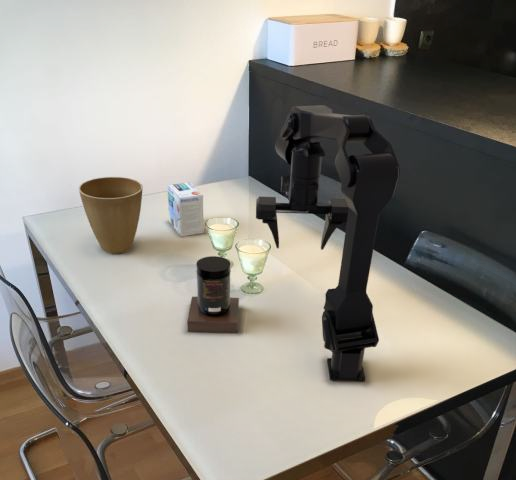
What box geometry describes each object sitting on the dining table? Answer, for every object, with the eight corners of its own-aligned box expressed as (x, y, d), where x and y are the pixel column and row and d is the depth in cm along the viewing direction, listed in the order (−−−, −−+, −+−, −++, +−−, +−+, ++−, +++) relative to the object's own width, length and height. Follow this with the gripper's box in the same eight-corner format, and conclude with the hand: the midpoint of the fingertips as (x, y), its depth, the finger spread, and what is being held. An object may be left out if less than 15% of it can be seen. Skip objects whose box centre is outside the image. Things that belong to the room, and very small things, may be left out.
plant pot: (89, 263, 144) (80, 200, 135) (86, 238, 155) (77, 178, 146) (151, 257, 147) (146, 195, 138) (143, 233, 159) (138, 174, 150)
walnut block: (237, 333, 120) (237, 322, 119) (187, 331, 120) (187, 321, 119) (238, 307, 129) (238, 297, 127) (192, 306, 129) (191, 296, 127)
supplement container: (227, 299, 126) (227, 255, 121) (233, 316, 121) (233, 270, 115) (195, 302, 125) (194, 257, 119) (200, 319, 120) (198, 272, 114)
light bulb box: (168, 222, 166) (166, 184, 160) (191, 218, 168) (190, 181, 162) (181, 237, 158) (179, 197, 152) (204, 233, 160) (204, 194, 154)
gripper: (348, 162, 122) (340, 233, 131) (257, 159, 122) (255, 231, 131) (355, 181, 113) (346, 256, 122) (257, 178, 113) (254, 253, 121)
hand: (299, 248), depth 124 cm, fingers open, 9 cm apart
